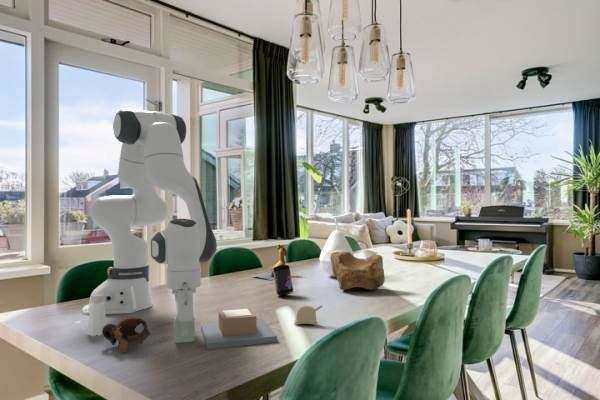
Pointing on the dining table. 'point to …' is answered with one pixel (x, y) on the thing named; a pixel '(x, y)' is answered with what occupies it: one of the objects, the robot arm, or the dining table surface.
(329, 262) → the pear ornament
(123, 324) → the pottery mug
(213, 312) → the dining table surface
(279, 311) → the dining table surface
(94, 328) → the pepper shaker
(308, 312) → the decorative ornament
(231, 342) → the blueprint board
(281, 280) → the supplement container
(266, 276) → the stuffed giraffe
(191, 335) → the sage block
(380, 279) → the rough brown rock
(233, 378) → the dining table surface
